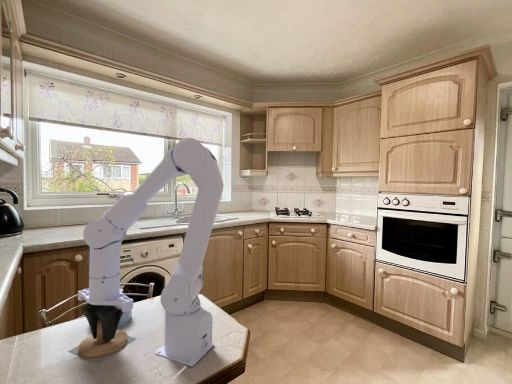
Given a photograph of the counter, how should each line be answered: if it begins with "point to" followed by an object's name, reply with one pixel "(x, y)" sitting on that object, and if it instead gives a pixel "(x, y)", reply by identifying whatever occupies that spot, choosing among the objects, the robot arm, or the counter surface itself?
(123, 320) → the bowl
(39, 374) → the counter surface
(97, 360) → the mat
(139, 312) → the counter surface
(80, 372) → the counter surface
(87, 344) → the lid
